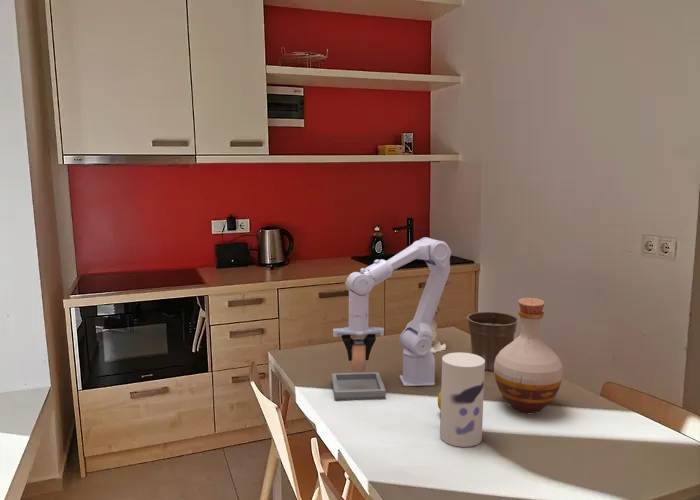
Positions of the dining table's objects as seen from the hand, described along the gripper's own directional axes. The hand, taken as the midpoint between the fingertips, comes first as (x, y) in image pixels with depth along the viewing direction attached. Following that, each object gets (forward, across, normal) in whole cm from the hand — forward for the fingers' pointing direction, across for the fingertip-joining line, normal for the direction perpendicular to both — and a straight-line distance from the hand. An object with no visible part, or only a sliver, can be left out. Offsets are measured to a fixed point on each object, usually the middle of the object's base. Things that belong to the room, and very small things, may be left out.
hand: (358, 359), depth 164 cm
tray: (+9, 0, 0) cm, 9 cm away
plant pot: (+10, +46, +17) cm, 50 cm away
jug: (+10, +45, -15) cm, 48 cm away
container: (+10, +22, -31) cm, 39 cm away
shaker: (+3, 0, 0) cm, 3 cm away
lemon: (+10, +22, -19) cm, 30 cm away
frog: (+10, +29, +35) cm, 47 cm away
